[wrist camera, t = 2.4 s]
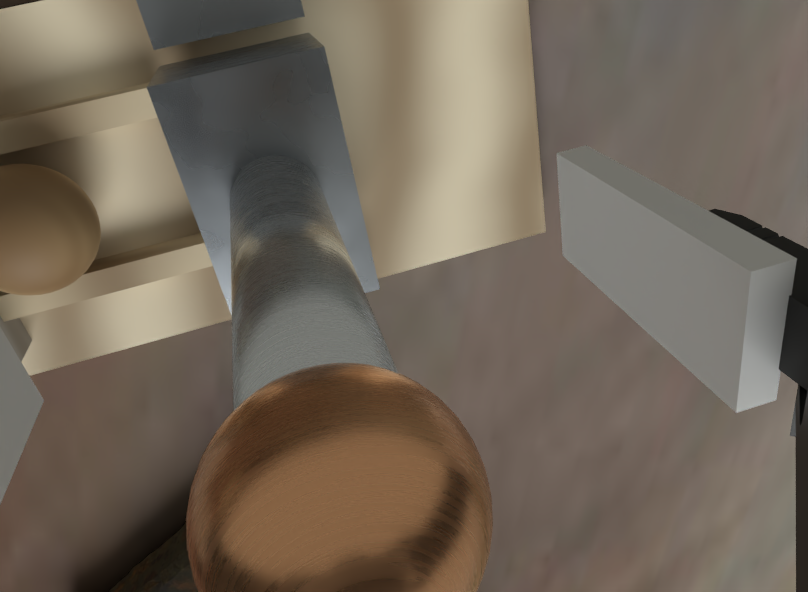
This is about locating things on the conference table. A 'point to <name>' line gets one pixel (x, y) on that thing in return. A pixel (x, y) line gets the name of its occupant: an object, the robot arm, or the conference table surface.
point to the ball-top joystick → (304, 338)
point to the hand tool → (162, 569)
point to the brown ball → (44, 230)
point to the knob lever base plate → (362, 123)
